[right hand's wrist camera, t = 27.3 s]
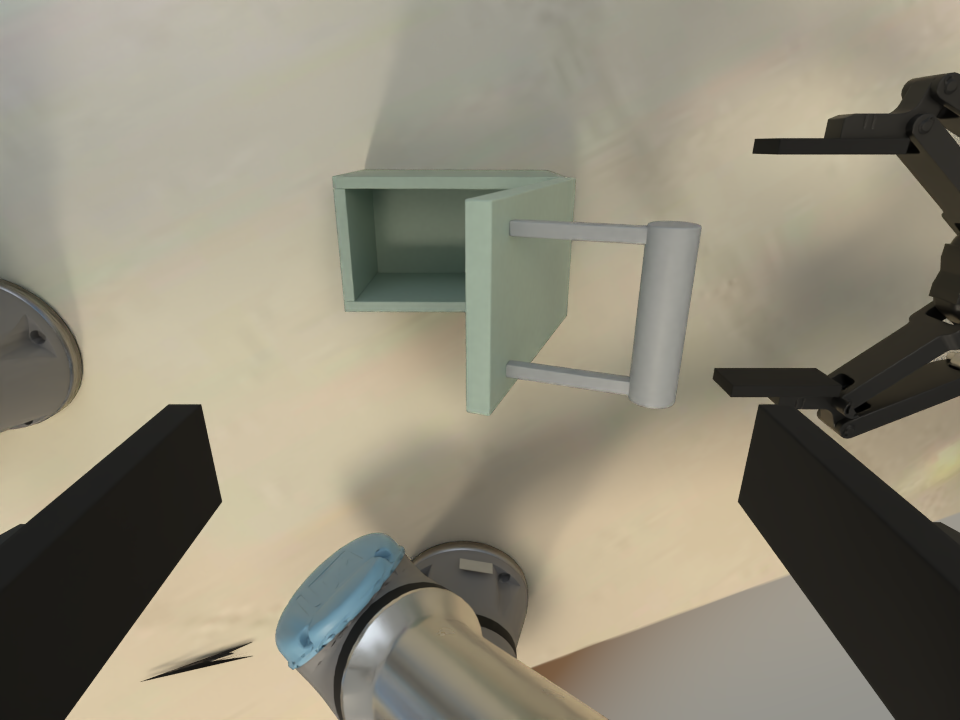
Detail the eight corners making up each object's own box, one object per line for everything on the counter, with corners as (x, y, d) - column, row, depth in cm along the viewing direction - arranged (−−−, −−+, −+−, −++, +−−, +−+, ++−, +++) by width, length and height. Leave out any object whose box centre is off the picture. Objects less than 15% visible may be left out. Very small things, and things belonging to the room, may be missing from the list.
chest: (371, 279, 51) (344, 312, 41) (363, 169, 47) (332, 176, 37) (542, 279, 51) (557, 312, 41) (547, 170, 47) (565, 176, 37)
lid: (465, 412, 25) (669, 448, 22) (463, 199, 22) (706, 208, 19) (551, 314, 40) (680, 328, 37) (558, 177, 37) (702, 180, 34)
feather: (81, 689, 73) (67, 696, 71) (259, 638, 68) (249, 644, 66) (84, 702, 72) (70, 710, 70) (262, 652, 68) (252, 659, 66)
